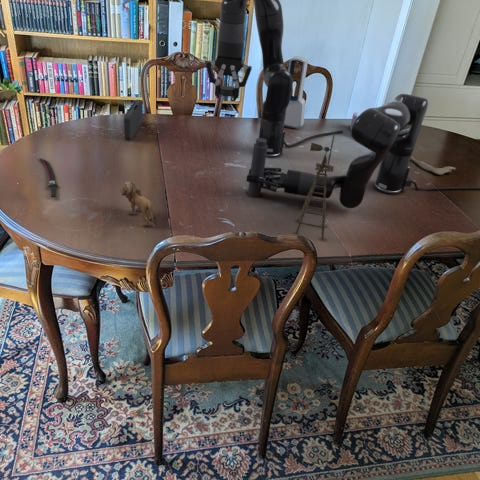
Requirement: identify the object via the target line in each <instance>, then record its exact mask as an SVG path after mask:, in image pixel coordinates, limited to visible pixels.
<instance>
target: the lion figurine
mask: <svg viewBox="0 0 480 480" xmlns="http://www.w3.org/2000/svg"><path fill="white" fill-rule="evenodd" d="M119 193H120V194H121V196H122V197H124V196H125V198H126V199H127V200H128V202H129V203H130V207H131V211H130V212H129V213H130V215H135V214H136V211H137V212H141V214H142V216H143V218H144V219H145V223H144V225H145V227H149V226H150V221H152V223H153V225H155V226H159V222H156V221H155V219H154V217H153V216H154V215H153V204H152V202H151V200H150V199H148V198H146V197H145V196H144V195H143V194H142V192H141V190H140V187H138V185H136V184H135V183H133V182H132V181H125V182H124V186H122V188H121V189H119ZM136 207H137V208H136ZM148 214H149V216H148Z"/></svg>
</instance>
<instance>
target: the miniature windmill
mask: <svg viewBox="0 0 480 480" xmlns="http://www.w3.org/2000/svg"><path fill="white" fill-rule="evenodd" d="M334 140H335V133H334V134H332V139H331V144H330V147H329V146H322V144H318V143H315V142H311V144H310V149H309V151H310V152H322V151H324V155H323V159H322V160H321V162H320V163H319V162H317V163H315V171H316V170H317V171H316V173H315V175H316V178H314V182H313V185H312V186H311V190H310V192H309V193H308V196H306V198H305V202H304V203H303V206H302V208H301V210H300V214H299V216H298V219H297V222H298V223H297V224H298V225H297V227H296V230H295V233H294V234H295V235H298V233H299V231H300V228H301V225H304V226H311V227H315V228H321V240H324V237H325V236H324V235H325V228H326V218H327V214H326V208H327V207H326V206H327V198H326V189H327V187H326V180H327V176H328V174H327V172H328V173H330V172H331V173H332V172H334V165H331V164H330V162H331V157H332V156H331V155H332V151H333V148H334V147H333V145H334V142H335V141H334ZM328 152H329V154H328V158H327V153H328ZM319 175H321V176H324V178H319ZM318 179H321V180H324V187H323V186H317V185H316V183H317V180H318ZM315 187H320V188H324V193H318V192H313V191H314V188H315ZM313 193H315V194H321V195H324V197H323V198H317V197H313V196H312V194H313ZM311 200H313V201H319V202H323V204H322V208H321V207H316V206H310V205H309V204H310V202H311ZM308 208H309V209H312V210H313V209H314V210H319V211H322V213H318V212H313V211H307V209H308ZM305 214H310V215H311V214H312V215H315V216H316V215H317V216H321V217H322V220H321V221H322V222H321V225H318V224H312V223H307V222H303V220H304V217H305Z"/></svg>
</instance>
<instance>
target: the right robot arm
mask: <svg viewBox="0 0 480 480" xmlns="http://www.w3.org/2000/svg"><path fill="white" fill-rule="evenodd" d="M428 106H429V100H428V99H427V98H426V97H422V96H417V95H413V94H408V93H400V94H398V95H396V96H395V97H394V98H393V99H392V100H391V101H389V102H386V103H385V104H382V105H381V106H378V107H369V108H367V109H365V110H363V111H362V112H361V113H360V114H359V115H358V117H357V119H356V120H355V121H354V123H353V125H352V129H350V135H351V139H352V140H354V141H355V142H356V143H357V144H359V145H361V146H362V147H364V148H366V149H368V150H369V151H370V152H368V153H363V154H360V155H358V156H357V157H355V158H354V159H353V160H352V161H351V162H350V163H349V166H348V169H347V171H346V174H343V175H333V176H328V175H327V180H326V187H327V189H326V199H329V198H331V196H332V195H333V192H334V190H336V189H339V198H338V199H339V203H340V204H341V206H342V207H344V208H347V209H355V208H358V207H359V206H360V205H361V204H362V202H363V200H364V196H365V193H366V189H367V186H368V184H369V182H370V180H371V177H372V176H373V173H374V172H375V171H376V169H377V168H378V167H379V169H378V172H377V175H376V179H375V182H374V188H375V189H376V190H378V191H379V192H381V193H384V194H388V195H398V194H400V193H401V192H402V193H403V192H404V190H405V187H406V188H408V187H409V188H410V187H411V186H412V184H413V185H414V187H415V189H416V190H417V191H424V192H425V191H428V192H429V191H441V190H442V191H444V190H480V186H479V187H478V186H450V187H449V186H447V187H430V188H420V187H418V184H417V183H416V181H414V180H413V179H411V178H410V177H409V173H410V171H411V166H410V161H411V156H412V157H413V152H414V149H415V147H416V142H417V140H418V136H419V133H420V130H421V127H422V125H423V122H424V119H425V116H426V113H427V111H428ZM408 126H409V127H408ZM407 127H408V128H407ZM248 170H249V171H248V174H247V175H246V182H248V183H249V182H252V183H258V185H259V187H260V188H261V189H263V190H267V191H269V192H273V193H276V192H277V190H278V189H283V192H284V193H285V194H291V195H297V196H304V197H308V193H309V192H310V190H311V186H312V185H313V182H314V178H316V173H311V172H307V171H300V170H295V169H288V170H287V171H286V173H285V172H282V168H281V167H264V174H263V177H259V176H254V175H250V172H251V168H249V169H248ZM319 178H324V175H319ZM316 185H317V186H323V187H324V180H321V179H318V180H317V183H316ZM313 192H318V193H324V188H320V187H315V188H314V191H313ZM311 197H313V198H319V199H323V197H324V195H321V194H315V193H313V194H312V196H311Z"/></svg>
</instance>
